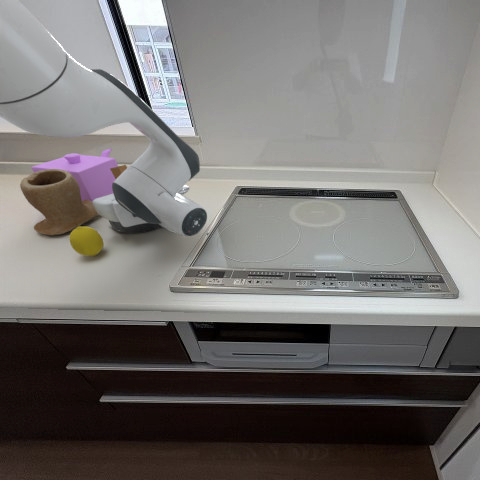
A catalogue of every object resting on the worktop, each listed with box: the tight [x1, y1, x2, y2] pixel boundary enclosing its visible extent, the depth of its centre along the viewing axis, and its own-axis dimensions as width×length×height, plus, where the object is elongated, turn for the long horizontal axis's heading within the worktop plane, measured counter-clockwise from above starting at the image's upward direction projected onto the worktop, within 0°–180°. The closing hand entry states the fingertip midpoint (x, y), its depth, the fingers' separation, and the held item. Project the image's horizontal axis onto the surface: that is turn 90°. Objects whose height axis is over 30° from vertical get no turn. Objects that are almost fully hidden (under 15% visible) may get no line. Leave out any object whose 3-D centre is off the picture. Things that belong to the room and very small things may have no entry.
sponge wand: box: [110, 164, 128, 179], centre depth 72 cm, size 5×4×14 cm
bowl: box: [108, 220, 162, 234], centre depth 75 cm, size 15×15×4 cm
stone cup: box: [19, 169, 100, 236], centre depth 69 cm, size 15×12×15 cm
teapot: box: [30, 148, 119, 202], centre depth 83 cm, size 15×25×14 cm, turn 171°
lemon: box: [68, 225, 104, 257], centre depth 60 cm, size 6×6×8 cm
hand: (127, 188), depth 72 cm, fingers closed on sponge wand, 3 cm apart
